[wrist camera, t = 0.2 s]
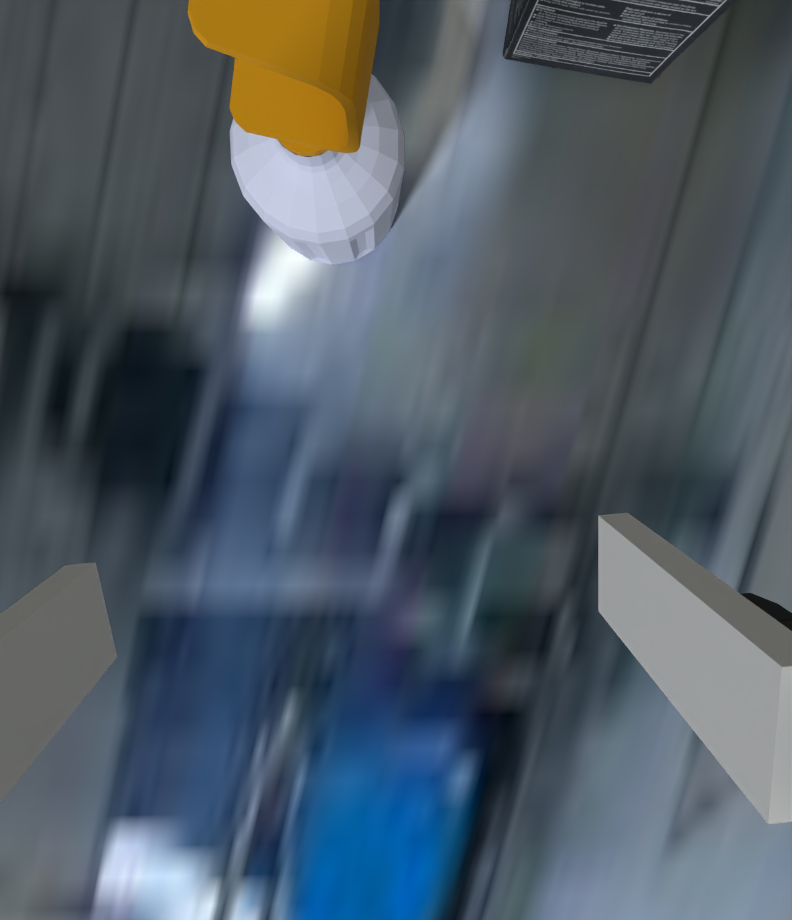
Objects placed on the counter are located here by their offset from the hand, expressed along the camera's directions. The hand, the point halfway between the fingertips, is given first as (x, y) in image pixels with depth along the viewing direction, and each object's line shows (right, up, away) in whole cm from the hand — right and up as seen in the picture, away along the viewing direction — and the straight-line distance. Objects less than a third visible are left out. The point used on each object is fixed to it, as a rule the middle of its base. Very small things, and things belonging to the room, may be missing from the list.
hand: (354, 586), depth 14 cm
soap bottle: (-3, +22, +24) cm, 32 cm away
